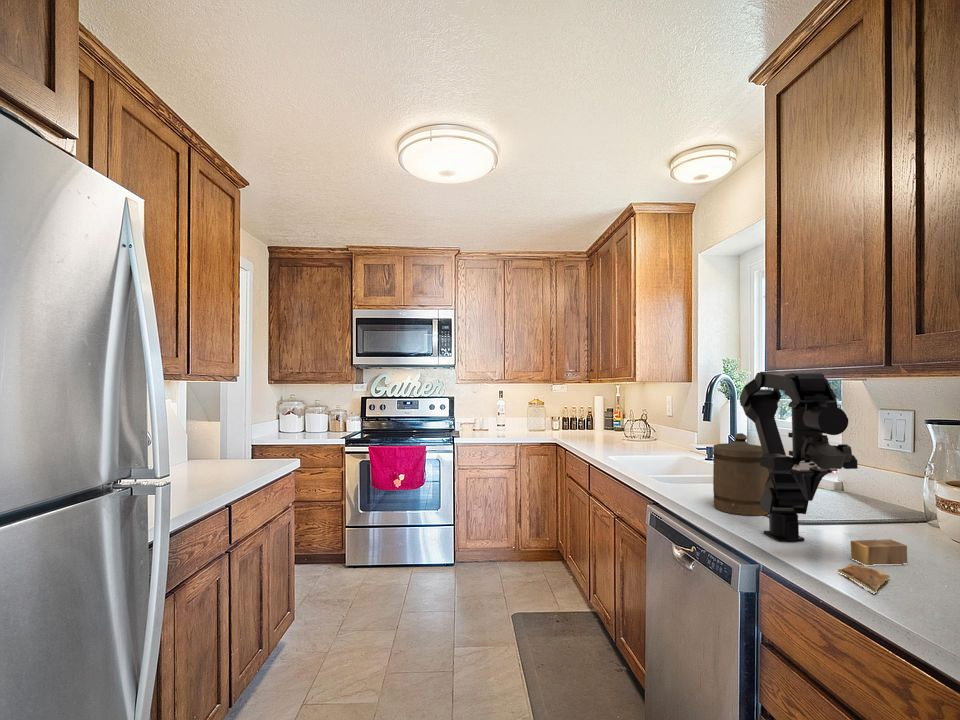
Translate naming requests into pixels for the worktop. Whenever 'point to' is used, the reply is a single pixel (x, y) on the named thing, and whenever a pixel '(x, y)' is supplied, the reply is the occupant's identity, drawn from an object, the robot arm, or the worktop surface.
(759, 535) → the worktop surface
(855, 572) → the shard
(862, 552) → the walnut block
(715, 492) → the wooden container
